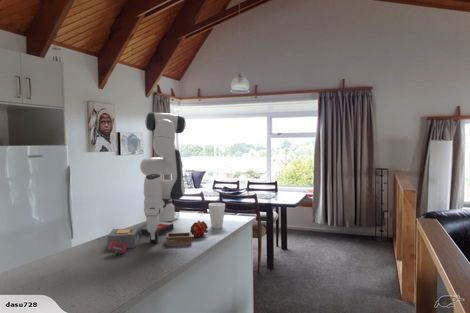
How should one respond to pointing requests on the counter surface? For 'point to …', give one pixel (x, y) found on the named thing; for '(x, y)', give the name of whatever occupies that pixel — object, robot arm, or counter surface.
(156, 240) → the battery cell
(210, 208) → the foam cup
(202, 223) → the dragon fruit
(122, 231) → the button
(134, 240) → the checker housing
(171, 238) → the box
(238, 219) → the counter surface
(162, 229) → the calculator
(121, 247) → the geometric puzzle
